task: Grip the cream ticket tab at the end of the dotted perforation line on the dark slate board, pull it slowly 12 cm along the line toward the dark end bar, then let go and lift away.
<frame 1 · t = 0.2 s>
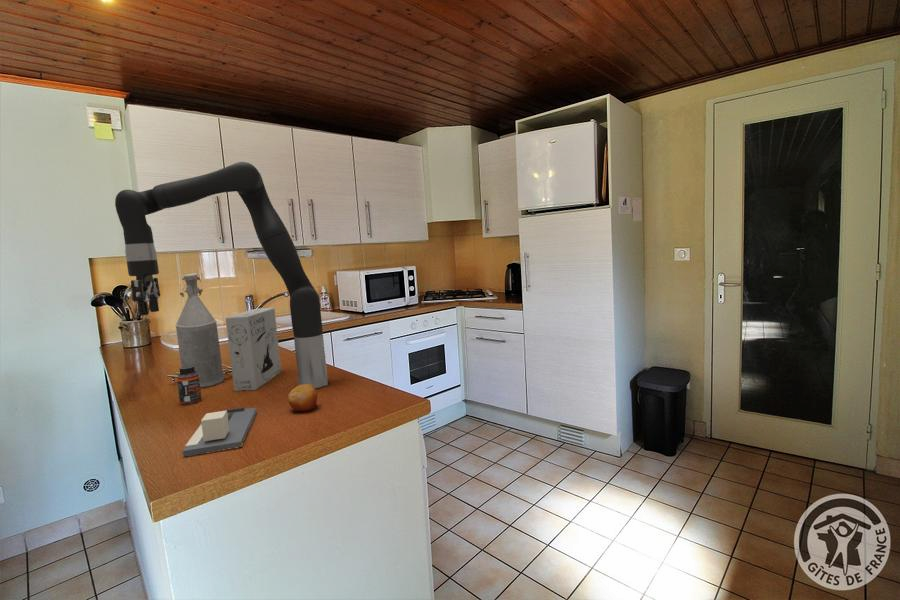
hand: (149, 313, 133), 29 cm above the countertop, tool pointing down, fingers open, 8 cm apart
fruit: (304, 409, 126), on the countertop
tab: (215, 425, 105), point 5 cm above the countertop, slide at 0.0 cm
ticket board: (224, 432, 112), on the countertop
cereal box: (259, 381, 158), on the countertop
supplement bottle: (191, 402, 139), on the countertop
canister: (203, 383, 160), on the countertop
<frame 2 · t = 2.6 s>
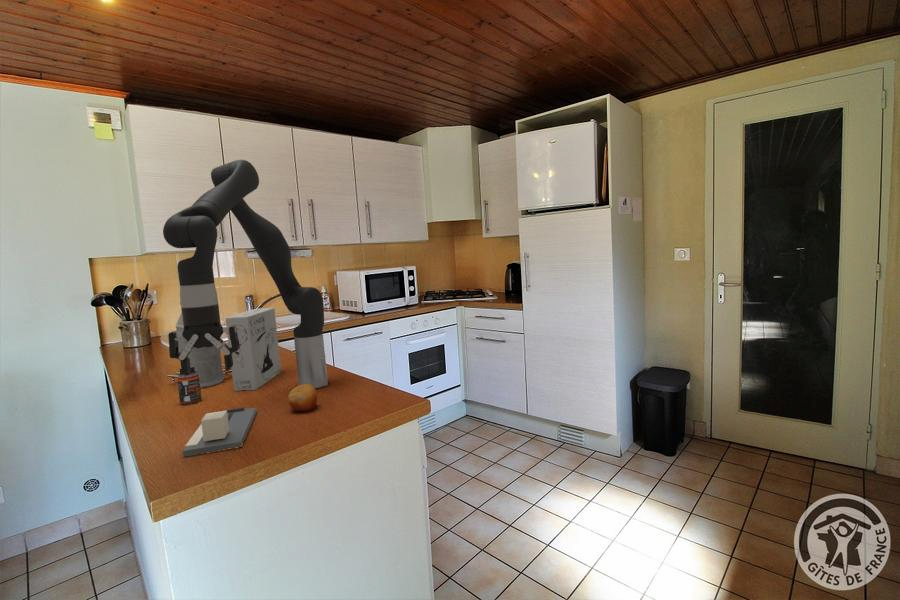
hand: (208, 372, 104), 18 cm above the countertop, tool pointing down, fingers open, 8 cm apart
nothing on the countertop moved.
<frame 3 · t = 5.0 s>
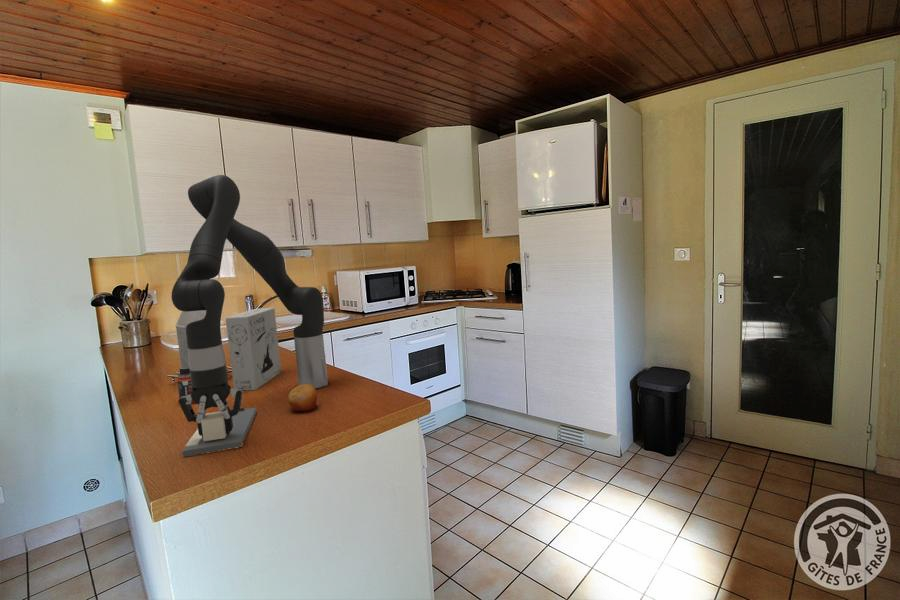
hand: (216, 434, 105), 2 cm above the countertop, tool pointing down, fingers closed on tab, 4 cm apart
tab: (215, 425, 105), point 5 cm above the countertop, slide at 0.0 cm, touching gripper
everything else where it was.
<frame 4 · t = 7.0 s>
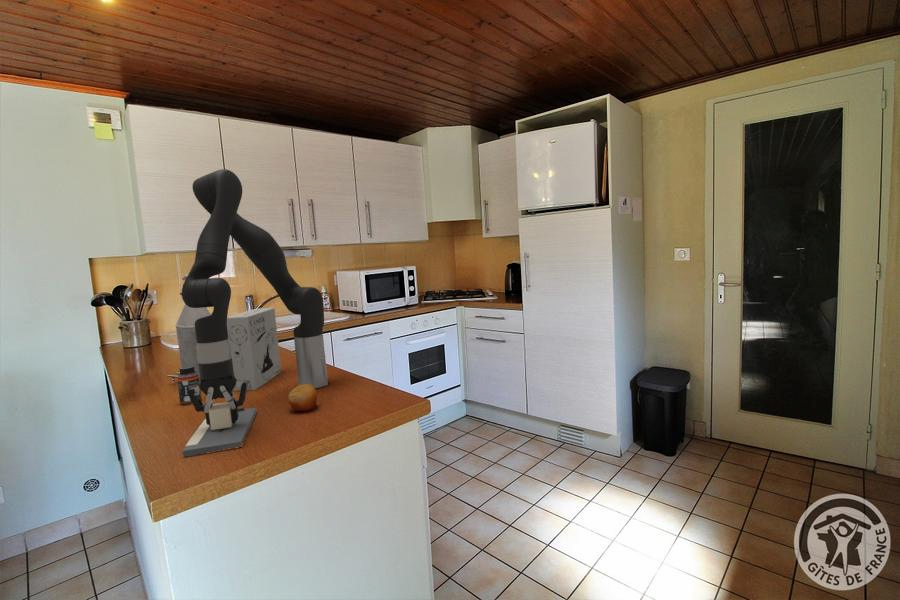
hand: (223, 423, 112), 2 cm above the countertop, tool pointing down, fingers closed on tab, 4 cm apart
tab: (222, 415, 112), point 4 cm above the countertop, slide at 6.9 cm, touching gripper
everything else where it was.
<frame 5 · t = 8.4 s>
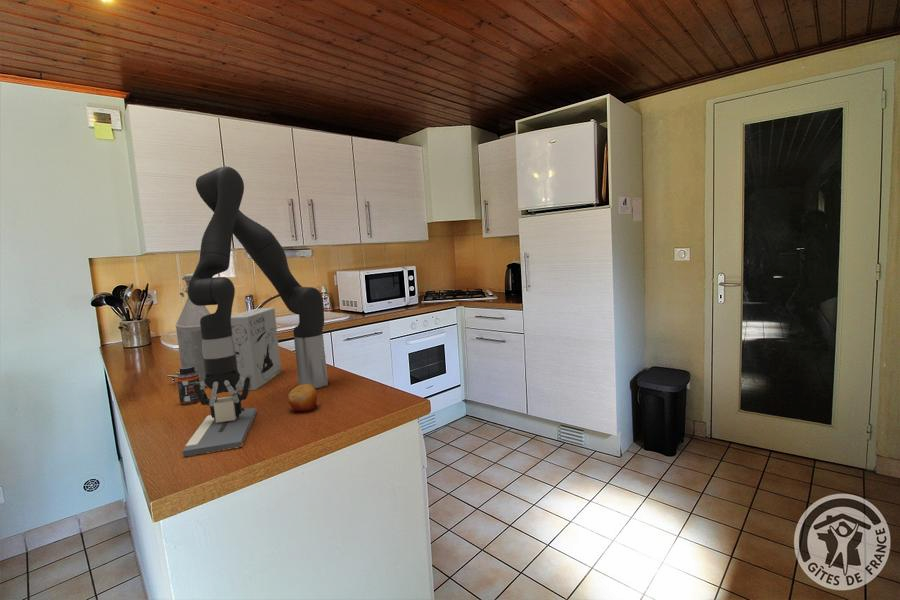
hand: (227, 416, 117), 2 cm above the countertop, tool pointing down, fingers closed on tab, 4 cm apart
tab: (226, 408, 116), point 5 cm above the countertop, slide at 11.9 cm, touching gripper
everything else where it was.
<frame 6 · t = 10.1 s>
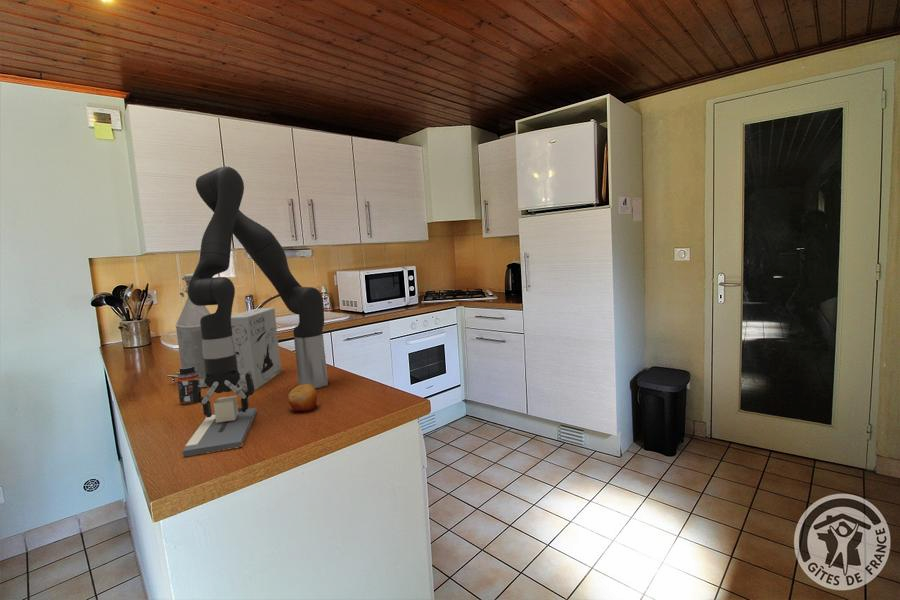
hand: (227, 413, 117), 3 cm above the countertop, tool pointing down, fingers open, 8 cm apart
tab: (226, 408, 116), point 4 cm above the countertop, slide at 11.9 cm
everything else where it was.
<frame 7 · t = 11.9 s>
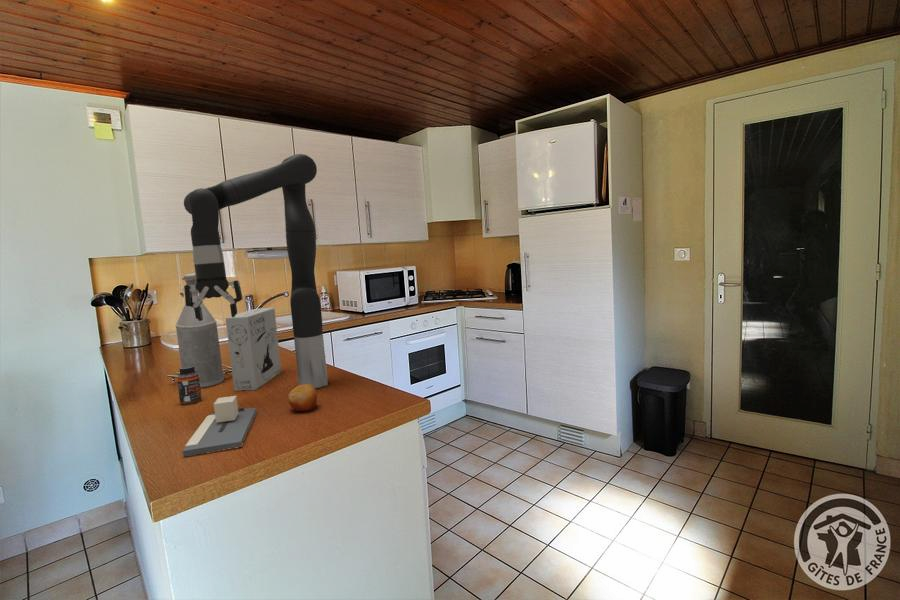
hand: (217, 318, 126), 27 cm above the countertop, tool pointing down, fingers open, 8 cm apart
nothing on the countertop moved.
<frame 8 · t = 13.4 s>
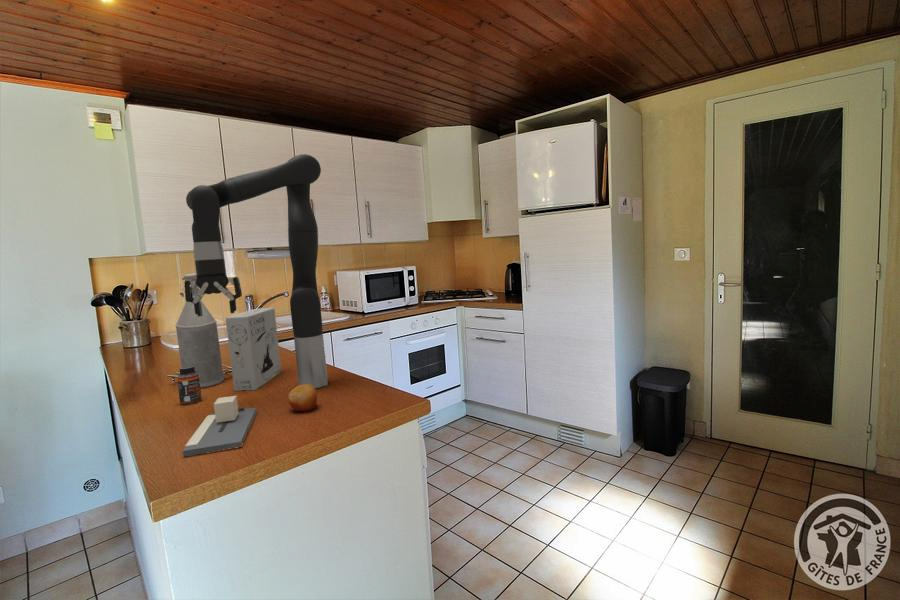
hand: (216, 314, 127), 28 cm above the countertop, tool pointing down, fingers open, 8 cm apart
nothing on the countertop moved.
at the end: tab slide at 11.9 cm; the gripper is holding nothing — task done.
